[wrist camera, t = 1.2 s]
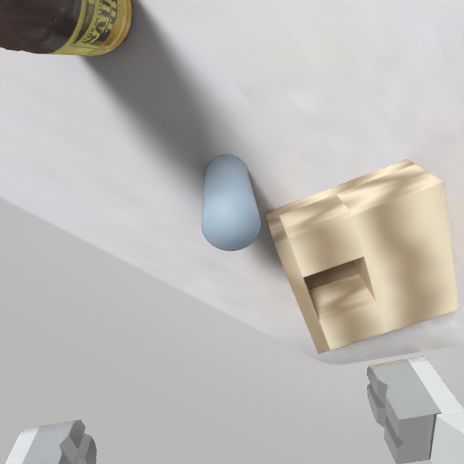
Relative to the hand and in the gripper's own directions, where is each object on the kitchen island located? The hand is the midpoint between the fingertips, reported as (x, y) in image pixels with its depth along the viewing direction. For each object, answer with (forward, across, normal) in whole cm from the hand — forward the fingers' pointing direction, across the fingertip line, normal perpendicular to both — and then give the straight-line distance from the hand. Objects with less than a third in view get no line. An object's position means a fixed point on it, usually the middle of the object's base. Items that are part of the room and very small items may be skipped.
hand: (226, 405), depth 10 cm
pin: (+25, -1, +2) cm, 25 cm away
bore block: (+25, -12, +12) cm, 30 cm away
